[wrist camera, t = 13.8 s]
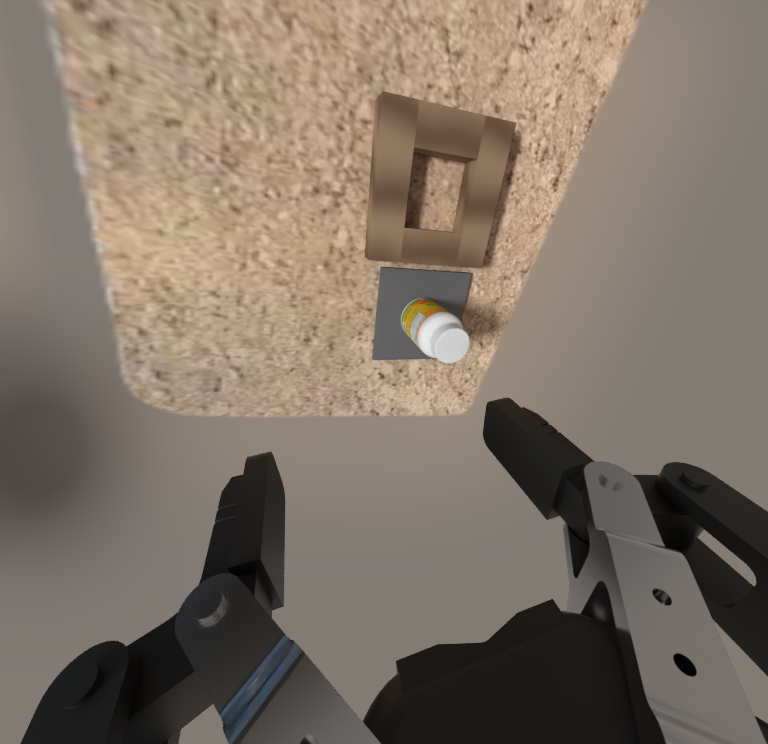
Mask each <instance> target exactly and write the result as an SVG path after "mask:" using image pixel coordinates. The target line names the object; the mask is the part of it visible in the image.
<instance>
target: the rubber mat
mask: <svg viewBox="0 0 768 744" xmlns="http://www.w3.org/2000/svg"><path fill="white" fill-rule="evenodd" d="M471 275H472V274H471V273H466V272H451V271H436V270H420V269H405V268H390V267H381V269H380V280H379V291H378V302H377V312H376V323H375V334H374V345H373V356H372V359H373V360H396V359H437V358H432V357H429V356H427V355H426V354H425V353H423V352H422V351H421V350H420V348H419V347H418V346H417V345H416V344H415V343H414V342H413V341H412V340H411V339H410V338H409V337H408V335H407V334H406V333H405V332H404V330H403V328H402V326H401V315H402V312H403V310H404V308H405V307H406V306H407V305H408V304H409V303H410V302H411V301H413V300H415V299H418V298H427V299H430V300H432V301H434V302H435V303H436V304H438V305H439V306H441V307H442V308H444V309H445V310H447V311H448V312H450V313H452V314H453V315H454V316H456V317H457V318H458V319H459V320H460V322H461V319H462V314H463V310H464V305H465V301H466V297H467V292H468V288H469V283H470V279H471Z"/></svg>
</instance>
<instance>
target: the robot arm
mask: <svg viewBox="0 0 768 744" xmlns="http://www.w3.org/2000/svg"><path fill="white" fill-rule="evenodd" d="M483 437H484V441H485V443H486V445H487V447H488V448H489V450H490V451H491V452H492V453H493V455H494V456H495V457H496V458H497V459H498V461H499V462H500V463H501V464H502V466H503V467H504V468H505V469H506V470H507V472H508V473H509V474H510V475H511V476H512V478H513V479H514V480H515V481H516V483H517V484H518V485H519V486H520V488H521V489H522V490H523V491H524V492H525V494H526V495H527V496H528V497H529V498H530V500H531V501H532V502H533V503H534V505H535V506H536V507H537V508H538V510H539V511H540V512H541V513H542V514H543V516H544V517H545V518H546V519H547V520H549V519H551V518H554V517H557V516H561V518H562V519H563V520H564V524H563V532H564V541H565V551H566V559H567V568H568V577H569V594H568V601H567V612H566V611H560V609H559V608H558V606H557V605H556V603H555V602H554V600H553V599H551V600H549V601H546V602H544V603H541V604H539V605H536V606H534V607H531V608H528V609H526V610H523V611H521V612H518V613H517V614H516V615H515V616H514V617H512V618H511V619H510V620H509V621H508V622H507V623H506V624H505V625H504V626H503V627H502V628H501V629H500V630H499V631H497V632H496V633H495V634H494V635H493V636H492V637H491V638H490V639H489V640H487V641H486V642H483V643H466V644H465V643H464V644H438V645H435V646H433V647H430V648H428V649H425V650H422V651H420V652H418V653H415V654H412V655H410V656H407V657H405V658H403V659H400V660H397V661H396V667H397V675H396V676H394V677H393V678H392V679H391V680H390V681H389V682H388V683H387V684H386V685H385V686H384V688H383V689H382V690H381V691H380V692H379V694H378V695H377V697H376V698H375V700H374V701H373V703H372V704H371V706H370V708H369V710H368V712H367V714H366V716H365V717H364V720H363V722H362V721H361V719H360V718H359V717H358V716H357V714H356V713H355V712H354V711H353V710H352V709H351V708H350V706H349V705H348V704H347V702H345V700H344V699H343V698H342V696H341V695H340V694H339V693H338V692H337V691H336V689H335V688H334V687H333V686H332V685H331V684H330V682H329V681H328V680H327V679H326V677H325V676H324V675H323V674H322V673H321V671H320V670H319V669H318V668H317V667H316V666H315V664H314V663H313V662H312V661H311V660H310V659H309V657H308V656H307V655H306V654H305V653H304V651H303V650H302V649H301V648H300V647H299V646H298V645H297V644H296V643H295V642H294V641H293V640H290V639H289V638H288V637H287V635H285V633H284V632H283V631H282V630H281V628H280V627H279V626H278V625H277V624H276V622H275V621H274V620H273V619H272V610H274V609H277V608H280V607H283V606H284V548H285V543H284V542H285V493H284V487H283V483H282V480H281V477H280V474H279V471H278V468H277V465H276V462H275V459H274V456H273V454H272V452H267V453H263V454H259V455H254V456H250V457H247V459H246V462H245V469H244V474H243V475H239V476H235V477H232V478H231V479H230V481H229V483H228V484H227V485H226V487H225V488H224V490H223V491H222V494H221V498H220V502H219V506H218V511H217V514H216V519H215V525H214V527H213V531H212V536H211V540H210V544H209V548H208V553H207V557H206V561H205V565H204V569H203V573H202V577H201V580H200V583H199V585H198V586H197V587H196V588H195V589H194V590H193V591H192V592H191V593H190V594H189V595H188V596H187V598H186V599H185V601H184V602H183V604H182V606H181V608H180V609H179V612H178V613H176V614H175V615H174V616H173V617H172V618H170V619H169V620H167V621H166V622H164V623H163V624H161V625H160V626H158V627H156V628H155V629H153V630H152V631H150V632H149V633H147V634H145V635H144V636H142V637H141V638H139V639H137V640H136V641H134V642H133V643H131V644H130V645H128V646H125V645H124V644H122V643H121V642H118V641H106V642H103V643H100V644H98V645H95V646H93V647H91V648H90V649H88V650H87V651H85V652H83V653H82V654H81V655H79V656H78V657H77V658H76V659H74V660H73V661H72V662H71V663H70V664H69V665H68V666H67V667H66V668H65V669H64V670H63V671H62V672H61V673H60V674H59V675H58V676H57V677H56V679H55V680H54V681H53V682H52V684H51V685H50V686H49V688H48V690H47V691H46V693H45V694H44V696H43V697H42V699H41V701H40V703H39V705H38V707H37V709H36V711H35V713H34V716H33V718H32V720H31V722H30V724H29V727H28V729H27V731H26V733H25V735H24V737H23V739H22V742H21V744H178V743H179V737H180V731H181V729H182V728H183V727H184V726H185V725H187V724H188V723H189V722H190V721H192V720H193V719H194V718H196V717H197V716H198V715H199V714H201V713H202V712H203V711H204V710H206V709H207V708H208V707H209V706H211V705H212V704H213V705H214V706H215V708H216V710H217V712H218V714H219V716H220V717H221V719H222V722H223V731H224V734H225V737H226V739H227V741H228V743H229V744H768V724H767V723H766V722H764V721H762V720H761V719H759V718H758V717H756V716H754V714H753V711H752V709H751V707H750V705H749V702H748V700H747V698H746V695H745V693H744V691H743V688H742V686H741V684H740V682H739V679H738V677H737V675H736V673H735V670H734V668H733V665H732V663H731V661H730V658H729V656H728V654H727V652H726V649H725V647H724V645H723V642H722V640H721V638H720V635H719V633H718V631H717V629H716V626H715V624H714V622H713V620H714V621H715V622H716V623H717V624H718V625H719V626H720V627H721V628H722V629H723V630H724V631H725V632H726V633H727V635H728V636H729V637H730V638H731V639H732V640H733V641H734V642H735V643H736V644H737V645H738V646H739V647H740V648H741V649H742V650H743V651H744V652H745V653H746V654H747V655H748V656H749V657H750V658H751V659H752V660H753V661H754V662H755V663H756V665H757V666H759V668H760V669H761V670H762V671H763V672H764V673H765V674H766V675H767V676H768V512H767V511H766V510H764V509H763V508H761V507H760V506H758V505H757V504H755V503H754V502H752V501H751V500H749V499H748V498H746V497H745V496H743V495H742V494H740V493H739V492H737V491H736V490H735V489H733V488H732V487H730V486H729V485H727V484H726V483H724V482H723V481H721V480H720V479H718V478H717V477H715V476H714V475H712V474H711V473H709V472H707V471H705V470H703V469H701V468H699V467H696V466H693V465H690V464H685V463H679V462H673V463H668V464H666V465H665V466H664V467H663V469H662V470H661V472H660V474H659V475H632V474H631V473H630V472H628V471H627V470H625V469H623V468H621V467H619V466H617V465H614V464H611V463H608V462H601V461H597V462H595V461H593V460H592V459H591V458H590V457H588V456H587V455H586V454H585V453H584V452H582V451H581V450H580V449H579V448H578V447H577V446H575V445H574V444H573V443H572V442H571V441H569V440H568V439H567V438H566V437H565V436H563V435H562V434H561V433H558V431H557V430H556V429H555V428H554V427H553V426H552V425H549V424H548V422H547V421H546V420H544V419H543V418H542V417H541V416H539V415H538V414H537V413H534V412H533V411H530V410H528V409H526V408H524V407H523V408H521V407H519V406H518V405H517V404H516V403H515V402H514V401H513V400H511V399H510V398H503V399H498V400H494V401H490V402H488V403H487V406H486V412H485V420H484V428H483ZM704 529H705V530H706V531H707V532H708V533H709V534H711V535H712V536H713V537H714V538H716V539H717V540H718V541H719V542H720V543H722V544H723V545H724V546H725V547H726V548H728V549H729V550H730V551H731V552H733V553H734V554H735V555H736V556H737V557H739V558H740V559H741V560H742V561H743V562H744V563H746V564H747V565H748V566H749V567H750V568H751V570H752V571H753V573H754V574H755V577H756V582H757V583H756V585H755V587H754V586H753V585H752V584H750V583H749V582H748V581H747V580H746V579H744V578H743V577H742V576H741V575H740V574H739V573H737V571H735V570H734V569H733V568H732V567H731V566H730V565H728V564H727V563H726V562H725V561H724V560H723V559H721V558H720V557H719V556H718V555H717V554H716V553H715V552H713V551H712V550H711V549H710V548H709V547H708V546H706V545H705V544H704V543H703V542H702V541H701V540H699V539H698V536H699V535H700V534H701V532H702V531H703V530H704Z"/></svg>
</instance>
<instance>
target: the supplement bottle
mask: <svg viewBox="0 0 768 744" xmlns="http://www.w3.org/2000/svg"><path fill="white" fill-rule="evenodd" d="M401 326H402V328H403V330H404V332H405V333H406V334H407V335H408V337H409V338H410V339H411V340H412V341H413V342H414V343H415V344H416V345H417V346H418V347H419V348H420V350H421V351H422V352H423V353H425V354H426V355H427V356H429V357H432V358H438V359H439V360H440V361H441V362H444V363H453V362H456V361H458V360H460V359H461V358H462V357H463V356H464V355H465V354H466V352H467V351H468V348H469V344H470V340H469V336H468V334H467V333H466V332H465V331H464V330H463V327H462V324H461V322H460V320H459V319H458V318H457V317H456V316H454V315H453V314H452V313H450V312H448V311H447V310H445V309H444V308H442V307H441V306H439V305H438V304H436V303H435V302H434V301H432V300H430V299H427V298H418V299H415V300H413V301H411V302H410V303H409V304H408V305H407V306H406V307H405V308H404V310H403V312H402V315H401Z"/></svg>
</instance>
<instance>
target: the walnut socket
mask: <svg viewBox="0 0 768 744" xmlns="http://www.w3.org/2000/svg"><path fill="white" fill-rule="evenodd" d="M515 127H516V123H515V122H510V121H506V120H502V119H498V118H493V117H489V116H485V115H481V114H477V113H472V112H468V111H464V110H460V109H455V108H451V107H447V106H443V105H439V104H434V103H430V102H426V101H422V100H417V99H413V98H409V97H405V96H401V95H396V94H392V93H388V92H384V91H382V93H381V94H380V95H379V96H378V98H377V99H376V102H375V117H374V131H373V146H372V161H371V175H370V190H369V204H368V219H367V234H366V248H365V257H366V258H367V259H369V260H376V261H390V262H404V263H418V264H432V265H446V266H460V267H474V268H482V264H483V260H484V256H485V252H486V248H487V244H488V239H489V235H490V231H491V227H492V223H493V218H494V214H495V210H496V206H497V202H498V198H499V193H500V189H501V185H502V181H503V177H504V173H505V168H506V164H507V160H508V156H509V152H510V147H511V143H512V139H513V135H514V131H515ZM413 153H418V154H423V155H429V156H434V157H440V158H445V159H451V160H456V161H461V162H465V168H464V173H463V178H462V184H461V189H460V194H459V200H458V205H457V210H456V216H455V221H454V226H453V232H445V231H436V230H426V229H417V228H408V227H404V226H405V218H406V210H407V201H408V193H409V185H410V176H411V168H412V160H413Z"/></svg>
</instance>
